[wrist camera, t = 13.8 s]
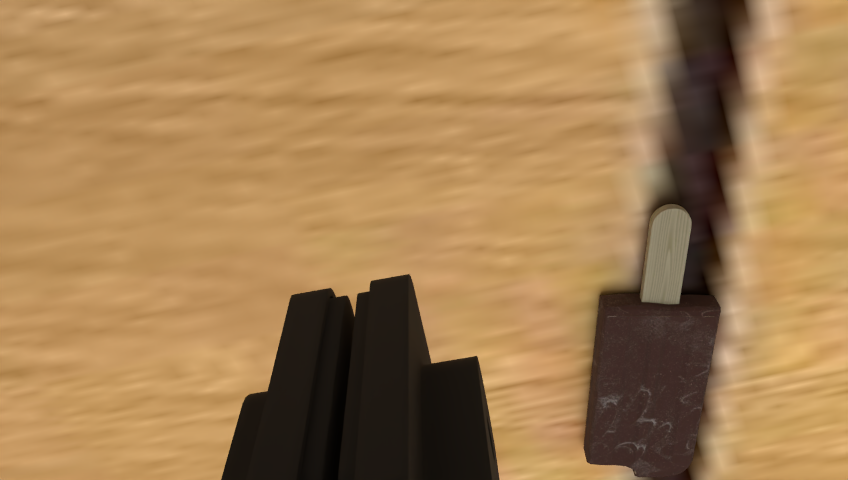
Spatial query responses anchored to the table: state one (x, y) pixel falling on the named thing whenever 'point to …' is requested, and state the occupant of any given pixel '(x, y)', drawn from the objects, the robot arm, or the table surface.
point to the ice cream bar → (652, 361)
